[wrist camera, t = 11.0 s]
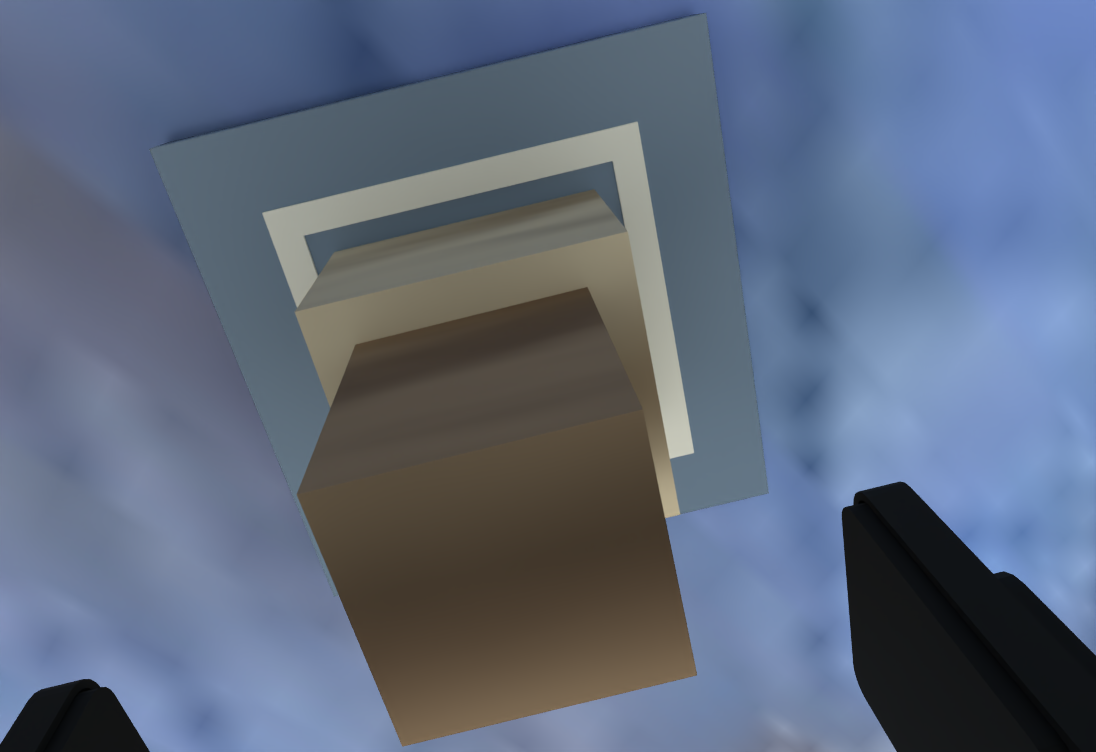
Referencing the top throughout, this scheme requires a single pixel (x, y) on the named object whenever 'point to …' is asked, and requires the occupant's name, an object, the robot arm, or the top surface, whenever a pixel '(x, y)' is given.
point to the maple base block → (488, 290)
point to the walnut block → (497, 519)
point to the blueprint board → (481, 189)
